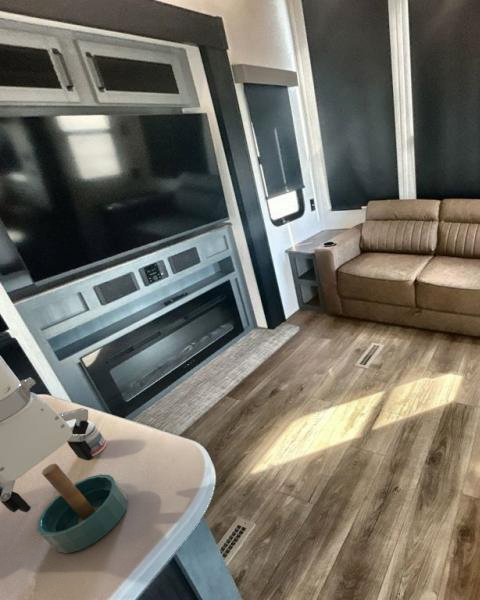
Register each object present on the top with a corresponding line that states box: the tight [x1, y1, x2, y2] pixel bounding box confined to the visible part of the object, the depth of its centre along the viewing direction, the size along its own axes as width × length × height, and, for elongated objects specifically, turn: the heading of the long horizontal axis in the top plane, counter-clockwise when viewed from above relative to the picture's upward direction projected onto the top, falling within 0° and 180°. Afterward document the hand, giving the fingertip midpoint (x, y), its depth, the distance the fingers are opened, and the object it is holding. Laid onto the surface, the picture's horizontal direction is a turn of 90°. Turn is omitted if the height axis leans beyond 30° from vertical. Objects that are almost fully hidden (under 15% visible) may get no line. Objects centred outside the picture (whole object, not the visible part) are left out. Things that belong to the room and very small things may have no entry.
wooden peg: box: [41, 463, 100, 524], centre depth 63 cm, size 4×4×14 cm
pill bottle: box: [66, 419, 107, 460], centre depth 80 cm, size 5×5×9 cm
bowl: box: [36, 473, 129, 554], centre depth 65 cm, size 11×11×6 cm
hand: (56, 481), depth 61 cm, fingers open, 9 cm apart
